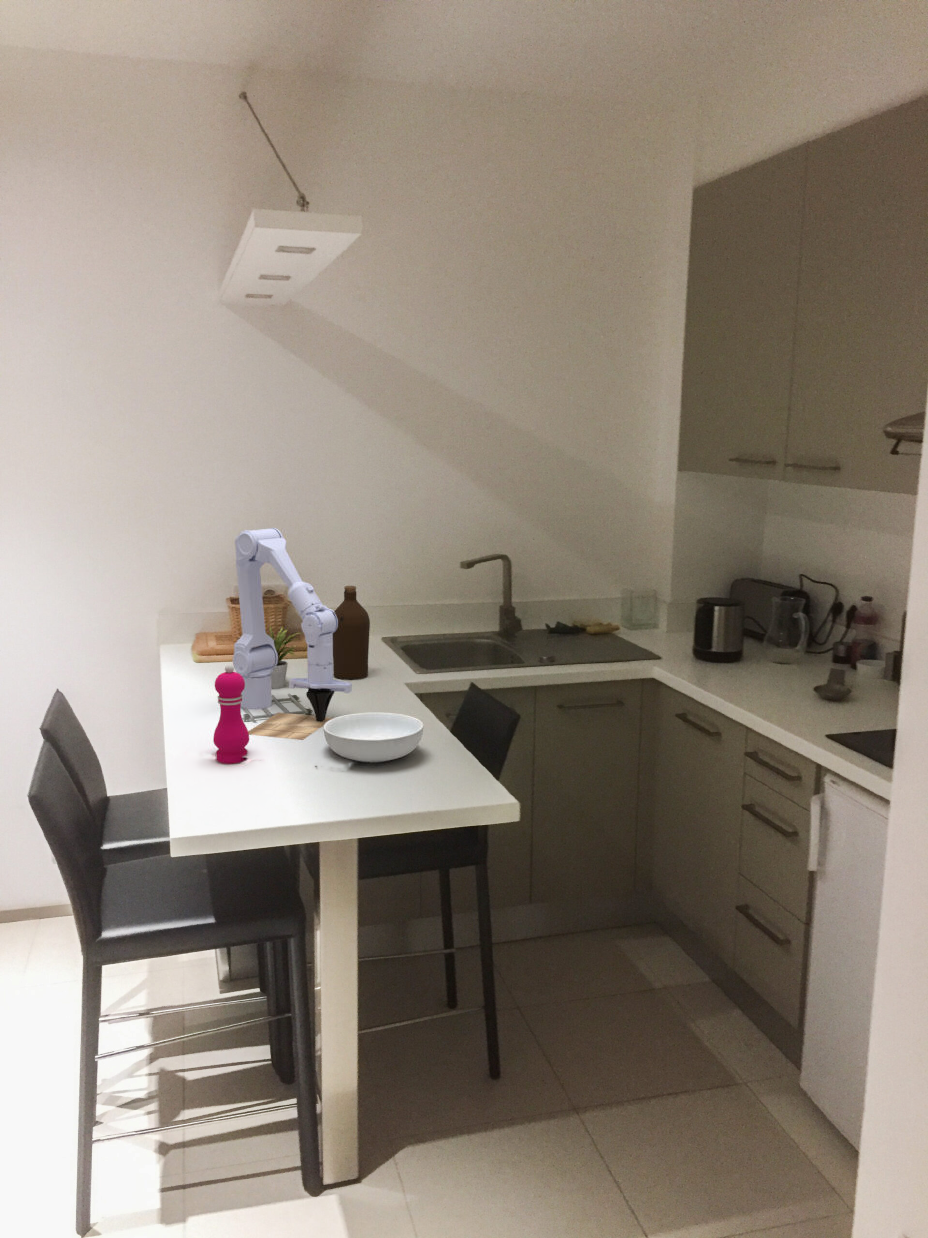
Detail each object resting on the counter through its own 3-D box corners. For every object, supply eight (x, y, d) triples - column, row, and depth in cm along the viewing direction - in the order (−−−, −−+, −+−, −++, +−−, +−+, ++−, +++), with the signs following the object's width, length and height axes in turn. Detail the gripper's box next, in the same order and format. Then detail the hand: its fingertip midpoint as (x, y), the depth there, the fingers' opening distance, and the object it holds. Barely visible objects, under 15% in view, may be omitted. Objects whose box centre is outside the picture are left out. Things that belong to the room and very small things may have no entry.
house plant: (297, 695, 259) (296, 632, 256) (243, 693, 260) (241, 631, 257) (306, 681, 273) (305, 621, 270) (255, 680, 274) (254, 620, 271)
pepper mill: (218, 766, 204) (215, 670, 201) (210, 756, 211) (207, 662, 207) (254, 761, 208) (251, 666, 204) (244, 751, 214) (242, 659, 210)
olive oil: (371, 680, 276) (371, 589, 271) (332, 681, 274) (331, 589, 269) (368, 671, 286) (368, 583, 281) (330, 671, 284) (329, 583, 280)
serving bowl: (433, 745, 221) (433, 714, 219) (408, 776, 200) (408, 743, 199) (342, 738, 225) (342, 708, 223) (309, 768, 205) (308, 735, 203)
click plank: (263, 727, 231) (262, 722, 231) (278, 717, 239) (278, 712, 239) (320, 733, 228) (319, 727, 227) (333, 722, 235) (333, 717, 235)
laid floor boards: (243, 739, 222) (243, 733, 222) (262, 727, 231) (262, 722, 231) (302, 745, 219) (302, 739, 219) (319, 733, 227) (319, 728, 227)
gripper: (283, 664, 228) (284, 722, 231) (343, 669, 225) (343, 728, 227) (296, 657, 235) (297, 714, 238) (354, 662, 231) (355, 719, 234)
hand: (320, 720), depth 233 cm, fingers closed
